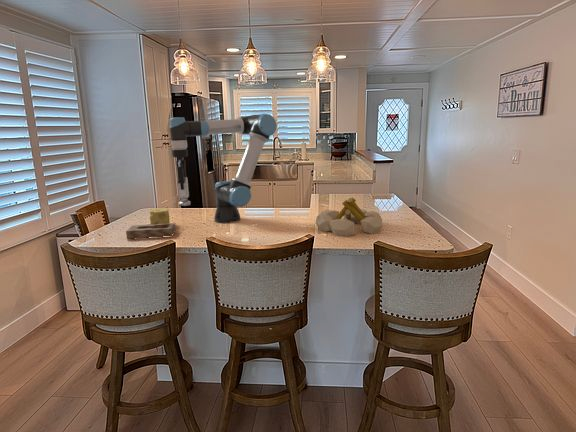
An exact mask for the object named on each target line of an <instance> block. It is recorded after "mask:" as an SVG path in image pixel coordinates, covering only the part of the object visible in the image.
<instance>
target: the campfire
mask: <svg viewBox="0 0 576 432" xmlns="http://www.w3.org/2000/svg"><path fill="white" fill-rule="evenodd" d="M342 205H343V206H344V207H343V208H342V209H341V210H340V211H339V210H335V209H326V210H322V211H321V212H320V213H319V214H318V215H317V216H316V220H315V224H316V227H317V229H318V230H320V231H321V232H324V233H325V232H327V233H328V232H332V233H333V234H334V235H335V236H336V235H338V237H349V236H353V235H355V234H356V227H355V224H360V225H361V228H362V229H363V232H364V233H365V234H370V235H372V234H375V233H376V234H377V233H379V231H381V228H382V227H383V218H382V217H381V214H380V212H378V211H375V210H370V211H367V209H362V208H360V206H358V204H357V199H355V198H354V197H350V198H348V200H347V199H345V200H344V201H343V202H342Z"/></svg>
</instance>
